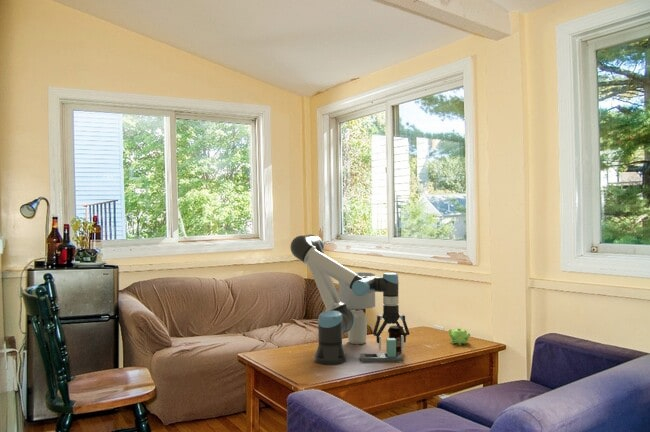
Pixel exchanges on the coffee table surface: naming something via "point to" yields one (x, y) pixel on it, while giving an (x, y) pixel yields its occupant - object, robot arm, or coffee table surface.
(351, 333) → the lamp
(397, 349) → the coffee cup
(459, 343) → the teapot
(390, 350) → the teal brick
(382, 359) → the grey flat frame
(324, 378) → the coffee table surface
